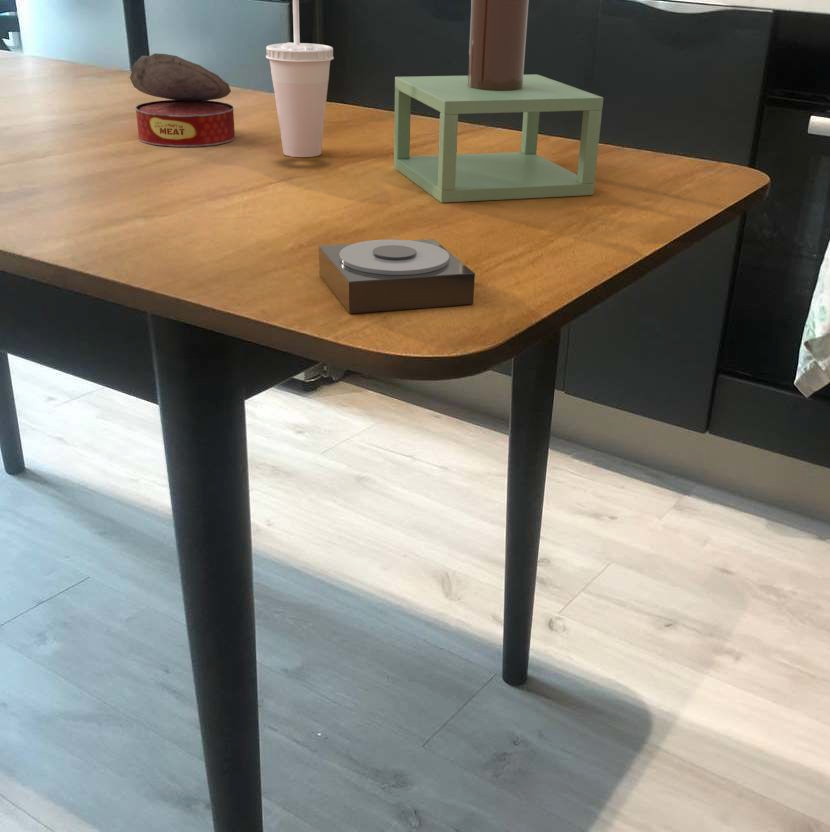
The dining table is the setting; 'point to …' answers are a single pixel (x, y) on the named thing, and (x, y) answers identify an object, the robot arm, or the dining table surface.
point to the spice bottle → (497, 44)
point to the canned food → (181, 103)
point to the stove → (395, 275)
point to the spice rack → (494, 171)
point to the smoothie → (300, 91)
